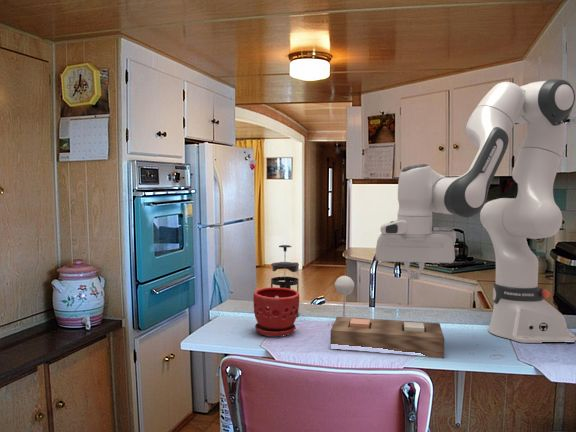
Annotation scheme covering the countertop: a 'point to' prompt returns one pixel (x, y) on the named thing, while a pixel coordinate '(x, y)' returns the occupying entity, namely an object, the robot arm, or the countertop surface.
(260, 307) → the plant pot
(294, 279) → the french press
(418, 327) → the cream key
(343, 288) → the lollipop
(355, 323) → the terracotta key
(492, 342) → the countertop surface
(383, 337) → the brown flat block
